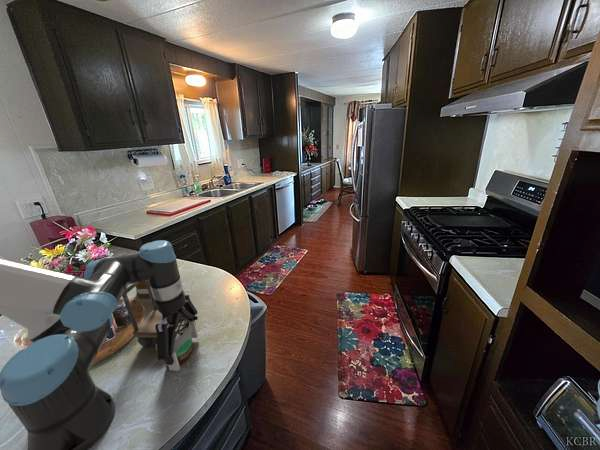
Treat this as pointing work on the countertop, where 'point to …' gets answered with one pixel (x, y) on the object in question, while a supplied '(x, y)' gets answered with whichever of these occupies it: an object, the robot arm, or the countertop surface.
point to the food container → (182, 341)
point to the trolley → (147, 327)
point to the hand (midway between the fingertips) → (185, 352)
